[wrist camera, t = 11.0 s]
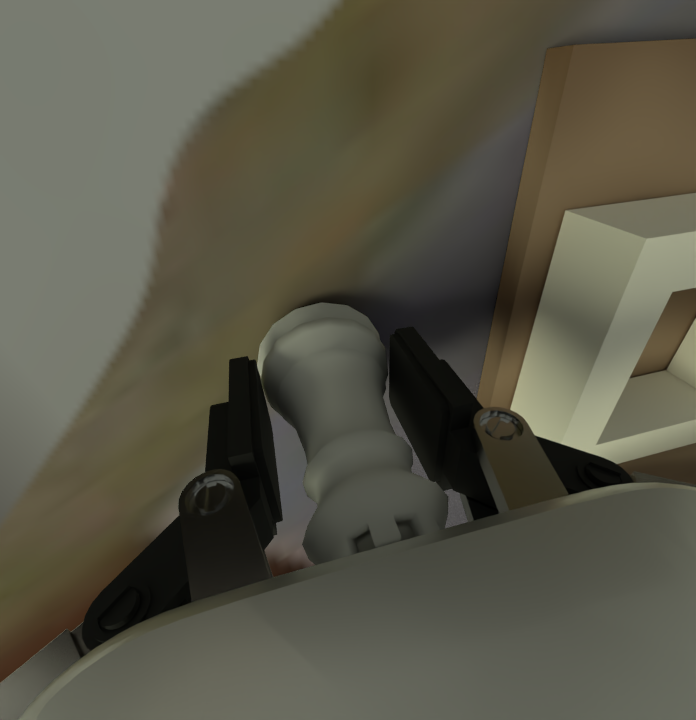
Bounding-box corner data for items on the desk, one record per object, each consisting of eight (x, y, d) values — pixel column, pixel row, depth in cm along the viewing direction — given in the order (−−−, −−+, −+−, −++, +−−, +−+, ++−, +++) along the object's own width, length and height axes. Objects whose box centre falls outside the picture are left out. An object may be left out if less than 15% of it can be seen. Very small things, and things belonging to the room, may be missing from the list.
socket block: (679, 390, 19) (739, 430, 17) (503, 432, 18) (544, 483, 15) (811, 177, 13) (931, 194, 11) (565, 210, 12) (646, 238, 9)
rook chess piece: (382, 291, 13) (528, 478, 7) (373, 392, 15) (470, 598, 9) (249, 300, 12) (267, 531, 6) (261, 407, 14) (284, 650, 8)
